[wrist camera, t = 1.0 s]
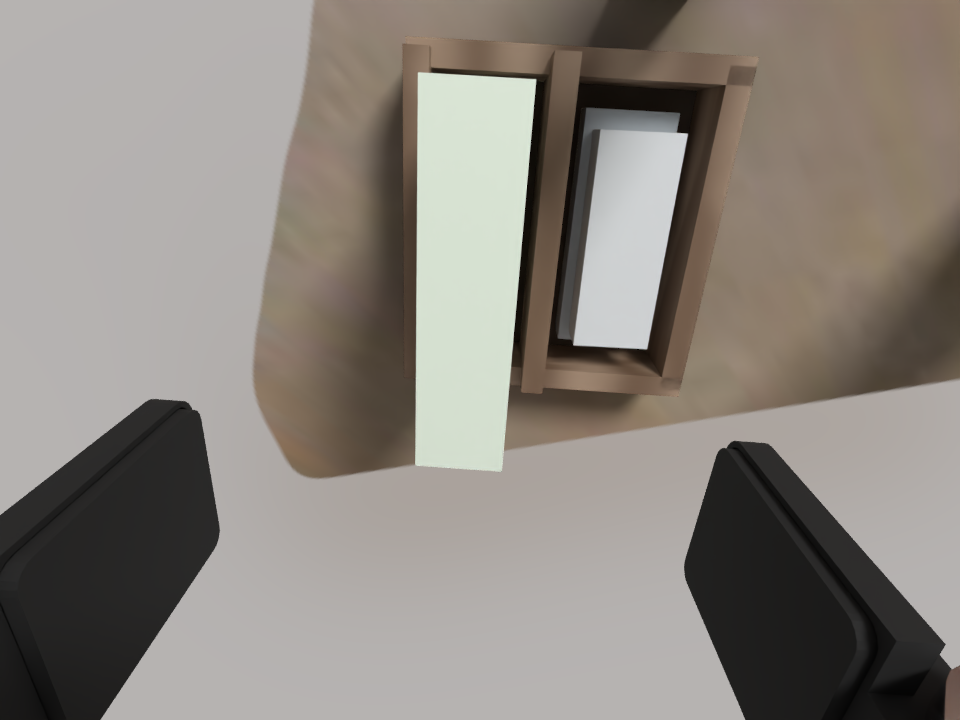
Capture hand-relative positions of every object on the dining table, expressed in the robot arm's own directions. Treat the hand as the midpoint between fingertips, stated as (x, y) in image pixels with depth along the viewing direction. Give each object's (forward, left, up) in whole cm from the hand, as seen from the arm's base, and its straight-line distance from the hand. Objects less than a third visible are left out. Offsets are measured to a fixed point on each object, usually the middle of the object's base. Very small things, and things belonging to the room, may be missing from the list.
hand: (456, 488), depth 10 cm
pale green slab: (+1, 0, -32) cm, 32 cm away
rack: (-5, 0, -32) cm, 32 cm away
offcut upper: (-9, +1, -30) cm, 31 cm away
